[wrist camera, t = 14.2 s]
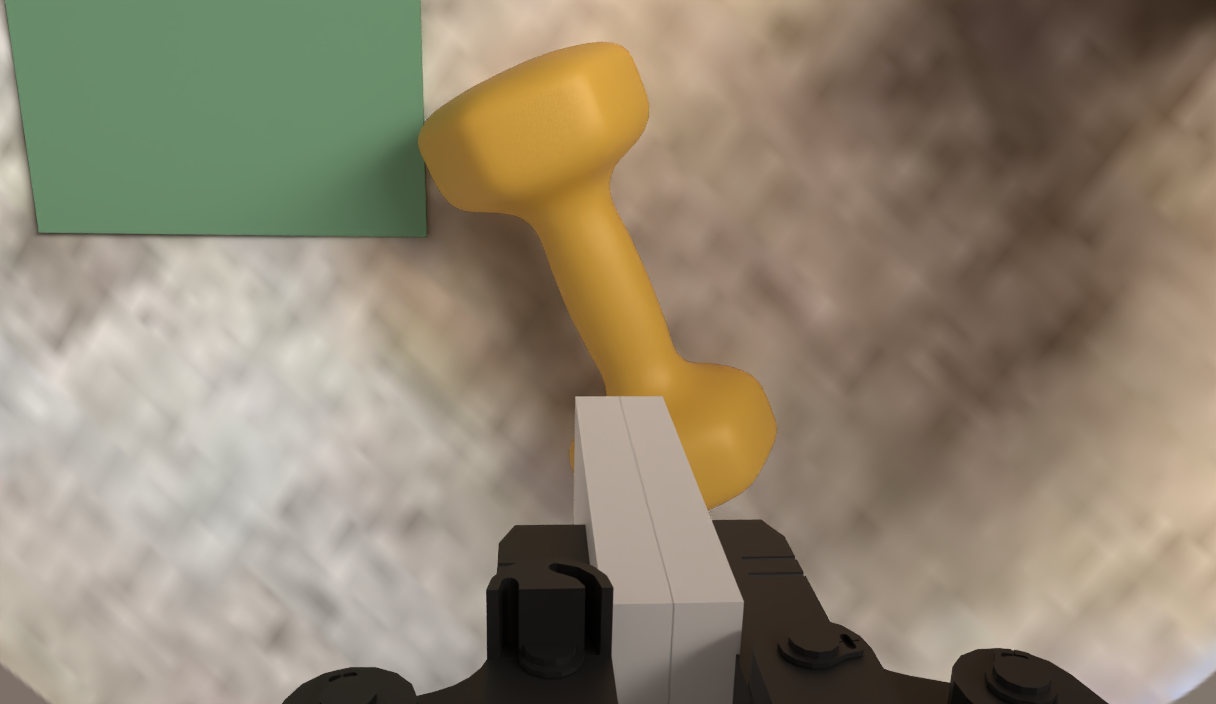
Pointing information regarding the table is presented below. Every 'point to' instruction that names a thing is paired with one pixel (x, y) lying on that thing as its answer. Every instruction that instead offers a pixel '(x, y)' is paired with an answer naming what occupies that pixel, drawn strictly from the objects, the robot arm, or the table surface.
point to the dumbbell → (595, 239)
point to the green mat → (222, 116)
